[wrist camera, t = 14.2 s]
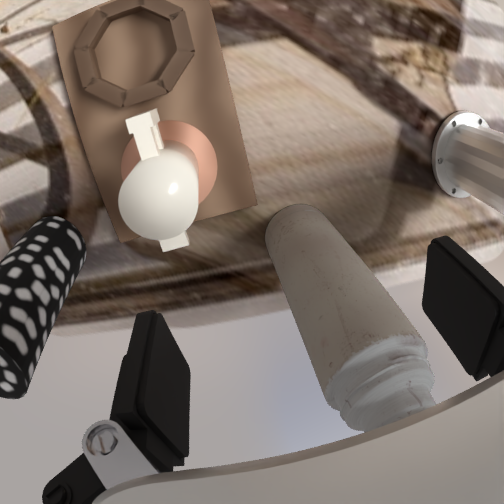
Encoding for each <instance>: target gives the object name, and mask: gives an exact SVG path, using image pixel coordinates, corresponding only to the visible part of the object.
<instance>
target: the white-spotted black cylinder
mask: <svg viewBox="0 0 504 504" xmlns="http://www.w3.org/2000/svg"><path fill="white" fill-rule="evenodd" d="M85 258H86V246H85V242H84V239H83V237H82V236H81V234H80V232H79V231H78V230H77V228H76V227H75V226H74V225H72V224H71V223H70V222H68V221H67V220H65V219H62V218H60V217H55V216H49V217H45V218H42V219H40V220H38V221H37V222H36V223H35V224H34V225H33V226H32V227H31V228H30V229H29V231H28V232H27V233H26V234H25V235H24V236H23V237H22V238H21V239H20V240H19V241H18V242H17V244H16V245H15V246H14V247H13V248H12V249H11V250H10V251H9V253H8V254H7V255H6V256H5V257H4V258H3V260H2V261H1V262H0V397H3V398H7V399H18V398H21V397H23V396H24V395H25V394H26V393H27V390H28V387H29V384H30V382H31V379H32V376H33V373H34V371H35V368H36V366H37V363H38V361H39V358H40V356H41V353H42V351H43V348H44V346H45V343H46V341H47V339H48V337H49V334H50V332H51V330H52V327H53V325H54V323H55V321H56V319H57V316H58V314H59V312H60V310H61V308H62V306H63V304H64V302H65V299H66V297H67V295H68V293H69V291H70V289H71V287H72V285H73V283H74V281H75V279H76V277H77V275H78V274H79V272H80V270H81V268H82V266H83V264H84V262H85Z"/></svg>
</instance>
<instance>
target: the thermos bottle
mask: <svg viewBox="0 0 504 504" xmlns="http://www.w3.org/2000/svg"><path fill="white" fill-rule="evenodd" d="M265 243H266V247H267V249H268V252H269V255H270V257H271V260H272V262H273V264H274V267H275V270H276V272H277V275H278V277H279V280H280V282H281V285H282V287H283V290H284V293H285V295H286V298H287V300H288V303H289V305H290V308H291V310H292V313H293V316H294V318H295V321H296V323H297V326H298V329H299V331H300V334H301V336H302V339H303V342H304V344H305V347H306V349H307V352H308V355H309V357H310V360H311V363H312V365H313V368H314V370H315V373H316V376H317V378H318V381H319V384H320V386H321V389H322V392H323V394H324V397H325V399H326V401H327V403H328V404H329V405H330V406H331V407H332V408H333V409H336V410H338V411H340V416H341V417H342V419H343V420H344V421H345V422H346V424H347V425H348V427H350V428H351V429H354V430H358V431H364V432H368V431H371V430H374V429H377V428H379V427H382V426H385V425H388V424H390V423H393V422H396V421H398V420H401V419H403V418H406V417H408V416H411V415H413V414H416V413H418V412H421V411H423V410H425V409H428V408H430V407H432V406H434V405H436V403H435V401H434V399H433V397H432V395H431V394H430V391H431V389H432V387H433V384H434V374H433V372H432V370H431V369H430V364H429V362H428V360H427V355H428V350H427V346H426V343H425V341H424V340H423V339H422V337H421V336H420V334H419V333H418V332H417V330H416V329H415V328H414V326H413V325H412V324H411V322H410V321H409V320H408V318H407V317H406V316H405V314H404V313H403V312H402V310H401V309H400V308H399V306H398V305H397V304H396V302H395V301H394V300H393V298H392V297H391V296H390V295H389V293H388V292H387V291H386V289H385V288H384V287H383V286H382V284H381V283H380V282H379V281H378V279H377V278H376V277H375V276H374V274H373V273H372V272H371V271H370V269H369V268H368V267H367V266H366V264H365V263H364V262H363V261H362V259H361V258H360V257H359V256H358V255H357V254H356V252H355V251H354V250H353V249H352V248H351V246H350V245H349V244H348V243H347V242H346V240H345V239H344V238H343V237H342V235H341V234H340V233H339V232H338V231H337V230H336V228H335V227H334V226H333V225H332V224H331V223H330V221H329V220H328V219H327V218H326V217H325V216H324V215H323V213H321V212H320V211H319V210H318V209H316V208H315V207H313V206H310V205H304V204H298V205H292V206H288V207H286V208H284V209H282V210H281V211H279V212H278V213H277V214H276V215H275V216H274V217H273V218H272V219H271V221H270V222H269V224H268V227H267V229H266V234H265Z"/></svg>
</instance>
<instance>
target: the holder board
mask: <svg viewBox="0 0 504 504" xmlns="http://www.w3.org/2000/svg"><path fill="white" fill-rule="evenodd" d="M52 28H53V33H54V38H55V43H56V48H57V52H58V57H59V61H60V65H61V69H62V73H63V77H64V81H65V85H66V89H67V93H68V96H69V100H70V103H71V107H72V110H73V114H74V117H75V121H76V124H77V127H78V130H79V133H80V137H81V140H82V143H83V146H84V149H85V152H86V155H87V158H88V161H89V164H90V166H91V169H92V172H93V175H94V178H95V180H96V183H97V186H98V188H99V191H100V194H101V196H102V199H103V202H104V204H105V207H106V209H107V212H108V214H109V217H110V219H111V222H112V224H113V227H114V229H115V231H116V234H117V236H118V239H119V241H120V243H122V242H125V241H129V240H132V239H135V238H139V237H142V236H140V235H138V234H136V233H135V232H134V231H132V230H131V229H130V228H129V227H128V226H127V224H126V223H125V222H124V220H123V218H122V216H121V214H120V210H119V205H118V198H119V192H120V189H121V186H122V184H123V182H124V181H125V179H126V178H127V176H128V175H129V174H130V172H131V171H132V170H133V168H134V167H135V166H136V164H137V163H138V162H139V161H140V159H141V157H140V154H139V151H138V147H137V144H136V141H135V138H134V134H133V133H132V134H129V131H128V128H127V124H126V121H125V120H126V119H128V118H130V117H132V116H135V115H137V114H140V113H143V112H146V111H149V110H152V109H155V108H157V112H158V115H159V119H160V121H159V122H158V123H157V124H158V127H159V131H160V134H161V138H162V141H166V140H173V141H178V142H181V143H183V144H185V145H187V146H188V147H189V148H190V149H191V150H192V151H193V152H194V154H195V156H196V158H197V160H198V166H199V181H198V210H197V214H196V217H195V219H194V221H193V222H195V221H199V220H202V219H206V218H210V217H213V216H217V215H221V214H225V213H228V212H232V211H236V210H240V209H244V208H248V207H252V206H256V205H258V204H257V200H256V195H255V191H254V186H253V182H252V178H251V173H250V169H249V164H248V160H247V156H246V151H245V147H244V143H243V138H242V134H241V130H240V125H239V121H238V117H237V113H236V108H235V104H234V100H233V96H232V91H231V87H230V83H229V79H228V75H227V70H226V66H225V62H224V58H223V54H222V50H221V46H220V42H219V37H218V33H217V29H216V25H215V21H214V17H213V13H212V9H211V5H210V1H209V0H110V1H108V2H105V3H103V4H100V5H98V6H95V7H93V8H91V9H88V10H86V11H84V12H82V13H79V14H77V15H75V16H73V17H71V18H69V19H67V20H64V21H62V22H60V23H58V24H56V25H55V26H53V27H52Z"/></svg>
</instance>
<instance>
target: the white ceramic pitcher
mask: <svg viewBox="0 0 504 504" xmlns="http://www.w3.org/2000/svg"><path fill="white" fill-rule="evenodd" d="M125 121H126V124H127V128H128V131H129V134H132V133H133V134H134V138H135V141H136V144H137V147H138V151H139V154H140V157H141V159H140V161H139V162H138V163H137V164H136V166H135V167H134V168H133V170H132V171H131V172H130V174H129V175H128V176H127V178H126V179H125V181H124V182H123V184H122V186H121V189H120V192H119V198H118V205H119V210H120V214H121V216H122V218H123V220H124V222H125V223H126V224H127V226H128V227H129V228H130V229H131V230H132V231H134V232H135V233H136V234H138V235H140V236H142V237H145V238H148V239H152V240H159V242H160V245H161V248H162V250H163V252H166V251H169V250H173V249H176V248H180V247H184V246H187V245H189V238H188V235H187V232H186V229H188V227H189V226H190V225H191V224H192V222H193V221H194V219H195V217H196V214H197V210H198V181H199V166H198V160H197V158H196V156H195V154H194V152H193V151H192V150H191V149H190V148H189V147H188V146H187V145H185V144H183V143H181V142H178V141H173V140H166V141H162V138H161V134H160V131H159V127H158V124H157V123H158V122H159V121H160V119H159V115H158V112H157V108H155V109H152V110H149V111H146V112H143V113H140V114H137V115H135V116H132V117H130V118H128V119H126V120H125Z"/></svg>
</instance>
